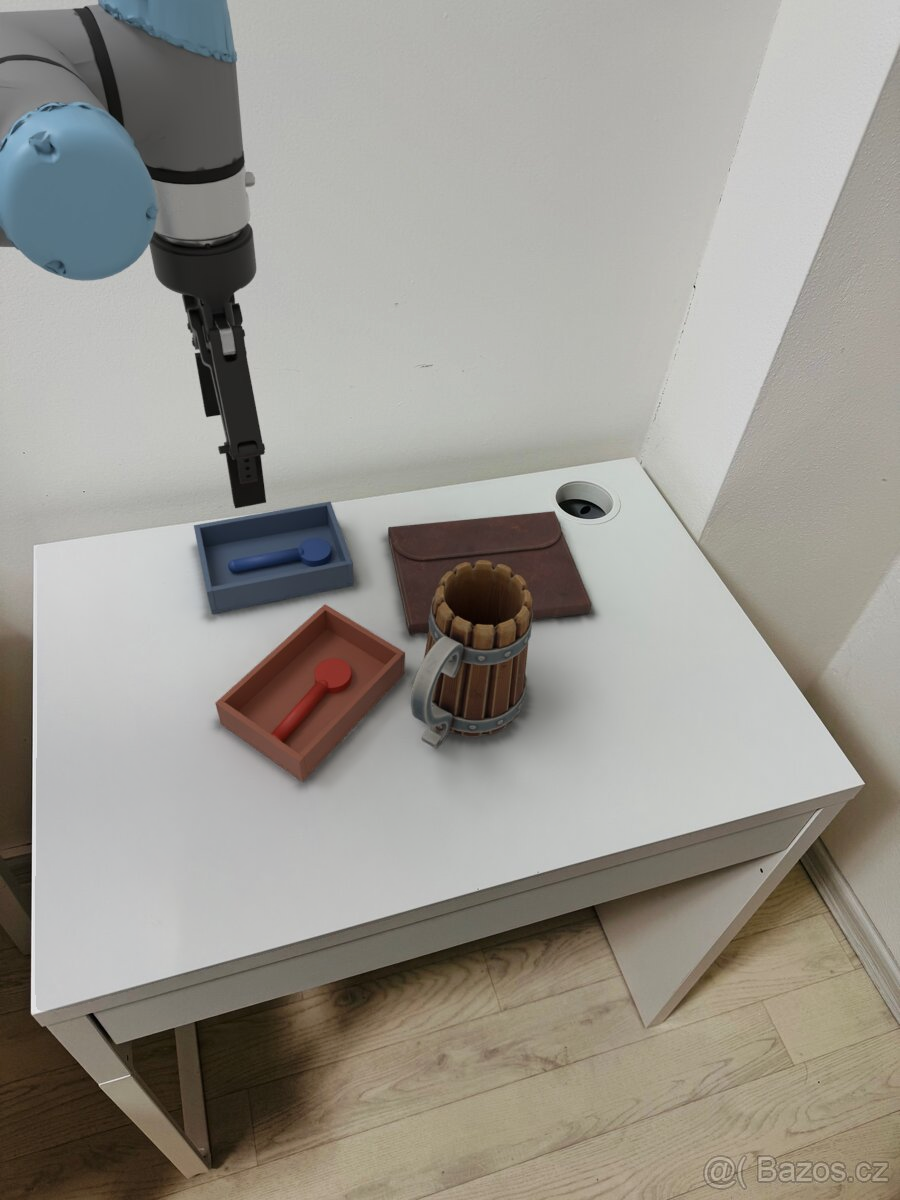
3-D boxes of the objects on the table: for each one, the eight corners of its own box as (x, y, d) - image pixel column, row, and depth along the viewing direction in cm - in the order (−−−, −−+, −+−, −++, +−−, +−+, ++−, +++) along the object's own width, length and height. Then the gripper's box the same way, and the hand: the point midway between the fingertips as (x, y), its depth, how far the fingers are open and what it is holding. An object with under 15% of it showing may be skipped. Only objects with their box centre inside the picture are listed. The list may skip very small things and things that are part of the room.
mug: (452, 636, 87) (462, 533, 76) (542, 682, 84) (566, 581, 73) (366, 745, 78) (363, 645, 67) (464, 801, 75) (478, 706, 64)
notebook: (589, 615, 90) (593, 603, 89) (409, 636, 87) (409, 624, 85) (551, 520, 100) (554, 508, 99) (387, 536, 97) (387, 524, 95)
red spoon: (287, 758, 76) (286, 750, 75) (256, 739, 77) (254, 731, 76) (358, 674, 83) (358, 665, 82) (329, 658, 84) (328, 649, 83)
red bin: (302, 782, 75) (299, 761, 73) (220, 723, 79) (214, 702, 76) (404, 673, 84) (405, 652, 81) (326, 625, 87) (324, 603, 85)
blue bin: (211, 614, 87) (206, 592, 85) (198, 547, 94) (193, 524, 91) (353, 585, 91) (352, 563, 89) (332, 523, 98) (330, 501, 95)
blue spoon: (231, 583, 90) (229, 574, 89) (226, 560, 92) (224, 551, 91) (334, 563, 93) (334, 554, 92) (327, 541, 95) (326, 532, 94)
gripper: (291, 302, 55) (308, 537, 70) (218, 154, 70) (246, 375, 85) (173, 317, 52) (218, 556, 68) (124, 160, 68) (170, 386, 83)
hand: (234, 455), depth 77 cm, fingers open, 13 cm apart
